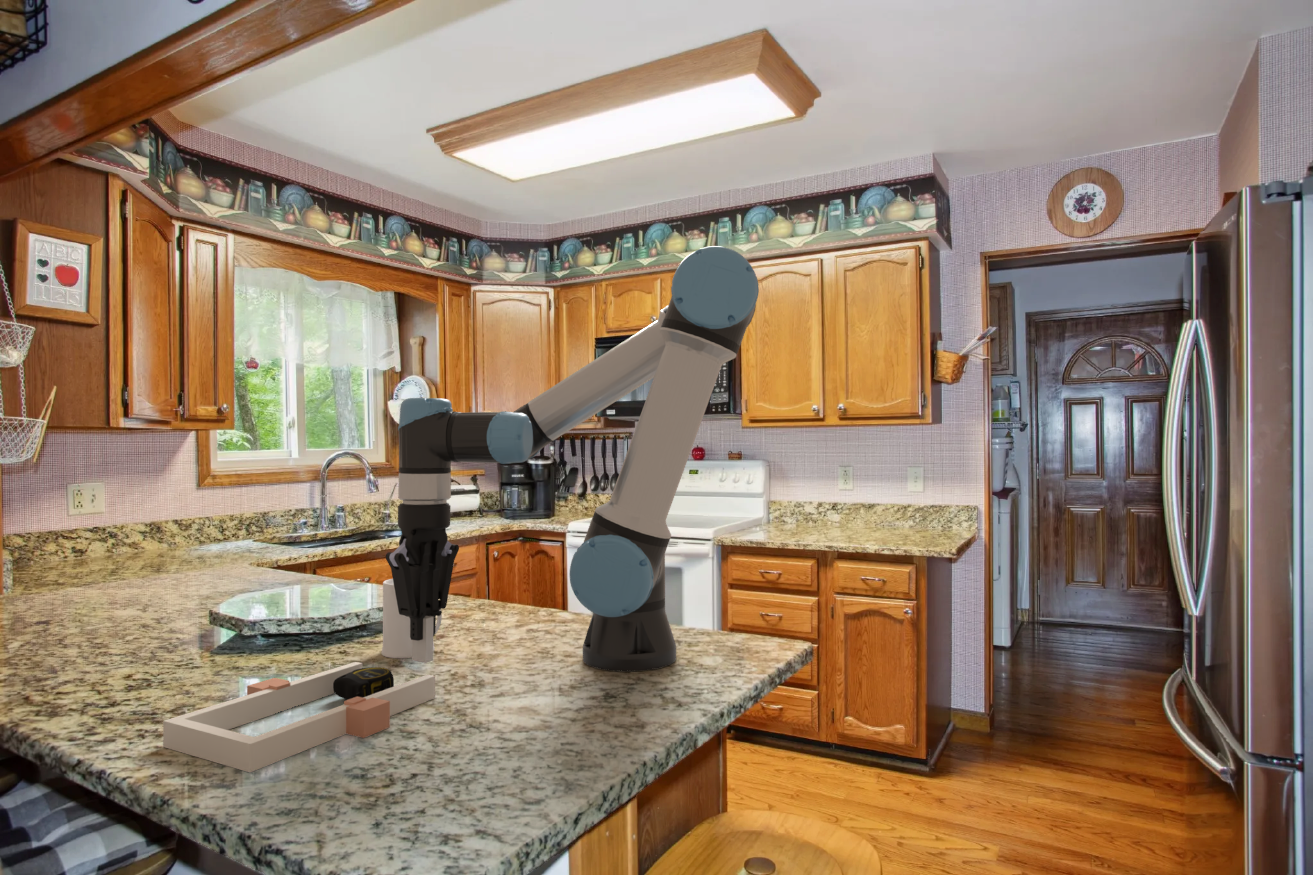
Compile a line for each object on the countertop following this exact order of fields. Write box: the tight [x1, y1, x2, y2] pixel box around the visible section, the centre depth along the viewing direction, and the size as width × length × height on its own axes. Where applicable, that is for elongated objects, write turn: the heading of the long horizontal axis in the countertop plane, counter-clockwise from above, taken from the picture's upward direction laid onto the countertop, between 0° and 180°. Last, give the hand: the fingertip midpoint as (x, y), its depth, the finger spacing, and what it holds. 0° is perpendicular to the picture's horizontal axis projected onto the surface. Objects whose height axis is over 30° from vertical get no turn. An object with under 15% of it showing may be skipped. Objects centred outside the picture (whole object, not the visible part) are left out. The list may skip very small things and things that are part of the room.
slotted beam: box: [162, 661, 436, 773], centre depth 99 cm, size 22×28×3 cm
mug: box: [380, 578, 443, 659], centre depth 131 cm, size 12×8×12 cm
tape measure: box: [333, 666, 395, 700], centre depth 107 cm, size 7×7×4 cm
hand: (422, 660), depth 116 cm, fingers closed
